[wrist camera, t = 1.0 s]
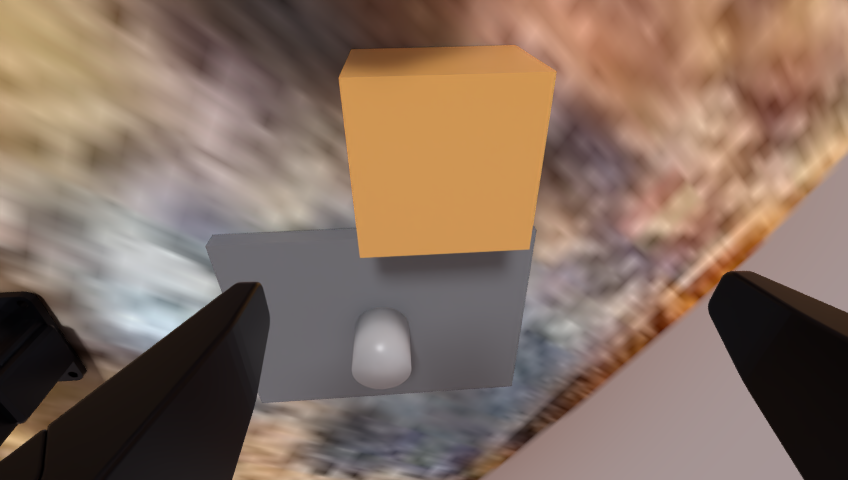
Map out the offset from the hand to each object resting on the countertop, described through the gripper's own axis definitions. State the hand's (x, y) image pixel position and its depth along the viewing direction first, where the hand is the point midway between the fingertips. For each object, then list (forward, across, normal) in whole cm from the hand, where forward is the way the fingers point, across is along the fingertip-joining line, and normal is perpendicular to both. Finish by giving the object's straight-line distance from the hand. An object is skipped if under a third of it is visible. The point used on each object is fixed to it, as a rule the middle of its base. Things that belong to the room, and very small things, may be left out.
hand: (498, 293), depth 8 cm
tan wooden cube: (+12, 0, +1) cm, 12 cm away
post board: (+12, +3, +12) cm, 17 cm away
